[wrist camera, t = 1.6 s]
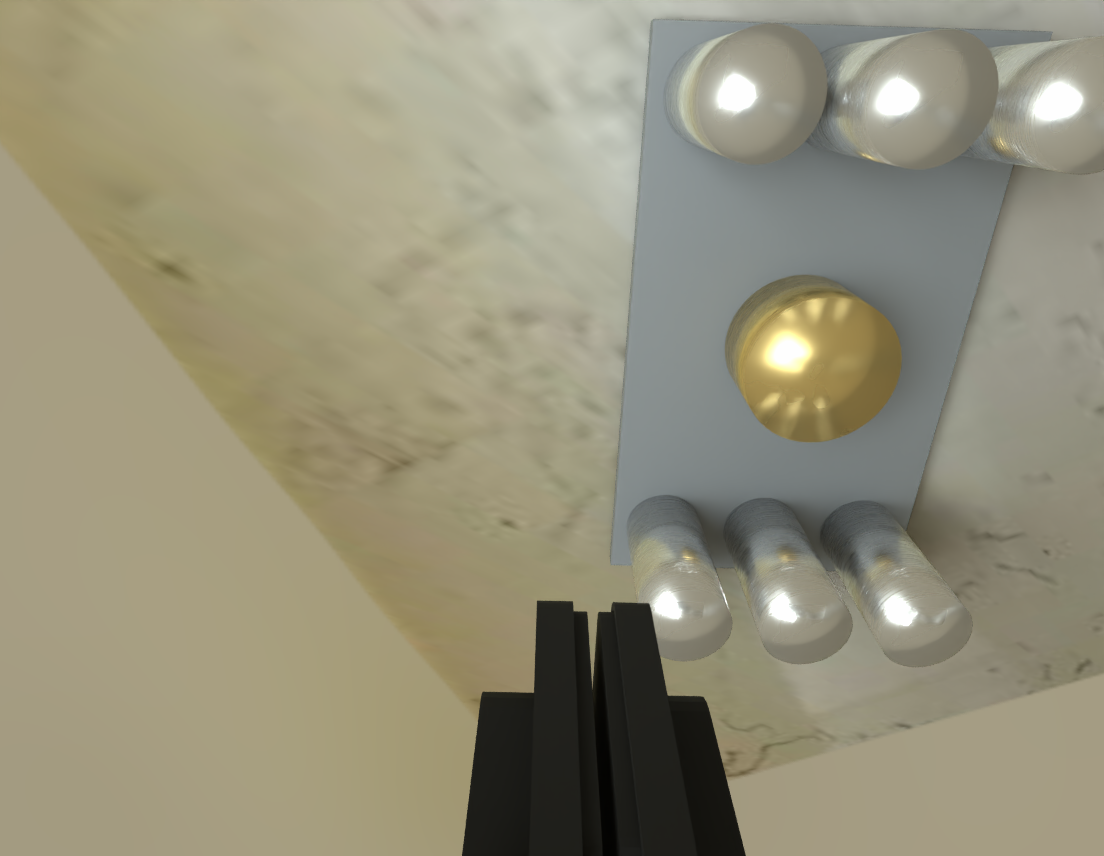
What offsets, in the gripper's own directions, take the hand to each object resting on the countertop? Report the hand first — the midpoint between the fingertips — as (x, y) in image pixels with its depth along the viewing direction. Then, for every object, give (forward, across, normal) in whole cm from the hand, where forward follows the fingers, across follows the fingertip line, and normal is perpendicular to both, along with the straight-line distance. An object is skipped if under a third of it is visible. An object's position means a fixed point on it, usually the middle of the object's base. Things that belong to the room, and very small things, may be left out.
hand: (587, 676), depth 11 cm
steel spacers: (+17, -8, 0) cm, 19 cm away
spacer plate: (+17, -8, 0) cm, 19 cm away
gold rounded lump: (+16, -8, 0) cm, 18 cm away
